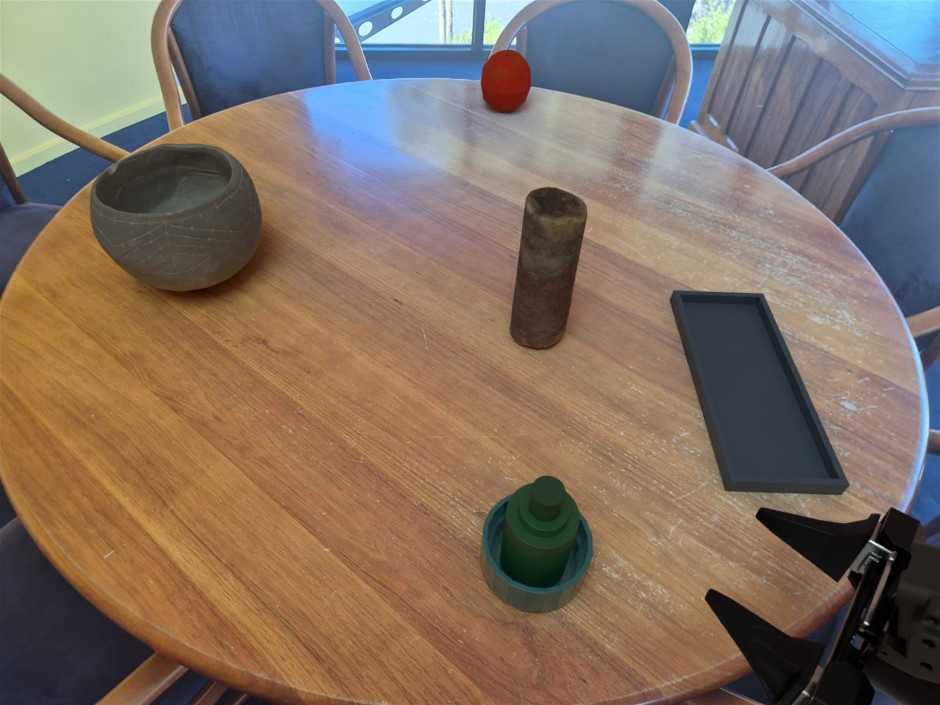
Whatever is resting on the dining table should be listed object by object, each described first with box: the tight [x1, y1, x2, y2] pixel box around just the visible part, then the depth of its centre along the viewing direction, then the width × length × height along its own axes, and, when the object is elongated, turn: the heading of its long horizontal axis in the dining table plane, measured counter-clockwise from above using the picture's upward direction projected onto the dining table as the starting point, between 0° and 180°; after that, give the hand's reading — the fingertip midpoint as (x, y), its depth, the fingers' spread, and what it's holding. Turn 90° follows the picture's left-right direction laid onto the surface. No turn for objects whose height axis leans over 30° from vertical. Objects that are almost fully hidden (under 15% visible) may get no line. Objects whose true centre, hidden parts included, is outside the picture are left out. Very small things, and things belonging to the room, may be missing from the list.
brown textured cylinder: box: [509, 186, 588, 349], centre depth 76 cm, size 8×7×20 cm
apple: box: [480, 48, 532, 113], centre depth 123 cm, size 10×10×12 cm
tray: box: [669, 289, 851, 496], centre depth 77 cm, size 31×13×2 cm, turn 179°
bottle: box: [500, 475, 580, 588], centre depth 56 cm, size 6×6×13 cm
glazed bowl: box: [479, 492, 594, 613], centre depth 59 cm, size 10×10×5 cm
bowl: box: [89, 143, 263, 292], centre depth 85 cm, size 21×21×15 cm
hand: (733, 549), depth 45 cm, fingers open, 9 cm apart
